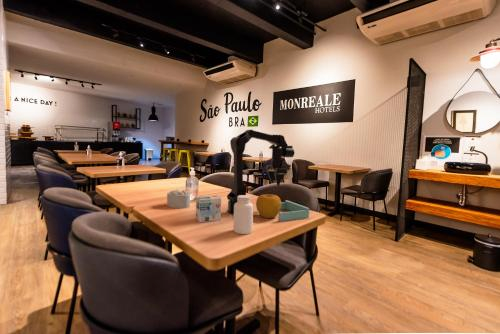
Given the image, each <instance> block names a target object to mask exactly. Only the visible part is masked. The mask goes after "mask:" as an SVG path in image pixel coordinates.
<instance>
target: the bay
mask: <svg viewBox="0 0 500 334" xmlns="http://www.w3.org/2000/svg"><path fill="white" fill-rule="evenodd" d="M285 209H286V211H284V212H282V211H283V210H285ZM277 217H278V219H277V221H278V222H279V223H280V222H281V223H282V222H288V221H296V220H302V219H309V218H310V207H307V206H304V205H301V204H298V203H296V202H292V201H290V200H284V202H282V201H281V208H280V211H279V213H278V216H277Z"/></svg>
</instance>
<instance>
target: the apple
mask: <svg viewBox="0 0 500 334" xmlns="http://www.w3.org/2000/svg"><path fill="white" fill-rule="evenodd" d="M281 203H282V201H281V198H280V197H279V196H278V195H276V194H273V193H272V194H270V193H265V194H260V195H259V196H258V197H257V198H256V202H255V207H256V210H257V213H258V214H259V215H260V216H261V218H265V219H273V218H276V217H278V215H279V212H281V210H280V208H281Z"/></svg>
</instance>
